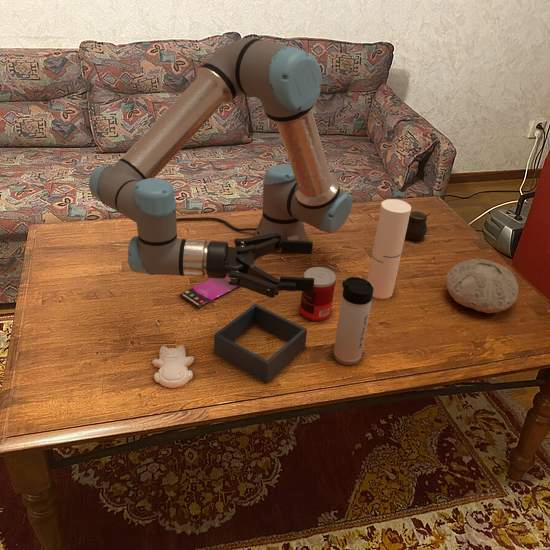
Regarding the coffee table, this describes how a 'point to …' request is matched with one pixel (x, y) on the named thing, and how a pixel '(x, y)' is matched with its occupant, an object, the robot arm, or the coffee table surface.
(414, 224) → the mate gourd
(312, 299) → the canned food
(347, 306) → the travel mug
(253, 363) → the frame
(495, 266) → the decorative shell
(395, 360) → the coffee table surface
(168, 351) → the white animal figurine
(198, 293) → the smartphone
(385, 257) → the cylindrical container
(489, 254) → the coffee table surface
